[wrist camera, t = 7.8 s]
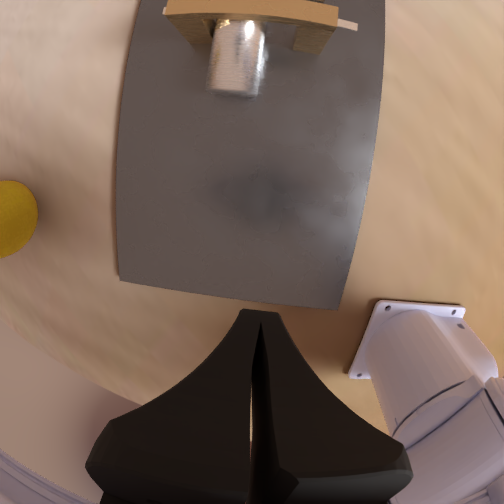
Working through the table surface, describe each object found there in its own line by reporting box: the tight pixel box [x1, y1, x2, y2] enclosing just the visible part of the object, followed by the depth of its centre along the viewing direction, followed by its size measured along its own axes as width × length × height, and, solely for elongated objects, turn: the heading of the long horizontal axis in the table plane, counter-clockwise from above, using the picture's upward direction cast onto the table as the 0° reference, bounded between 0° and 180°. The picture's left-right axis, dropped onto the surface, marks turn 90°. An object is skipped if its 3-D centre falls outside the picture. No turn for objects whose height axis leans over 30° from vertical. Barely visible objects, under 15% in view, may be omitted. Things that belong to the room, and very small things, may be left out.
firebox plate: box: [116, 0, 385, 310], centre depth 13 cm, size 16×25×5 cm, turn 173°
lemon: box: [0, 181, 38, 258], centre depth 15 cm, size 6×6×8 cm
